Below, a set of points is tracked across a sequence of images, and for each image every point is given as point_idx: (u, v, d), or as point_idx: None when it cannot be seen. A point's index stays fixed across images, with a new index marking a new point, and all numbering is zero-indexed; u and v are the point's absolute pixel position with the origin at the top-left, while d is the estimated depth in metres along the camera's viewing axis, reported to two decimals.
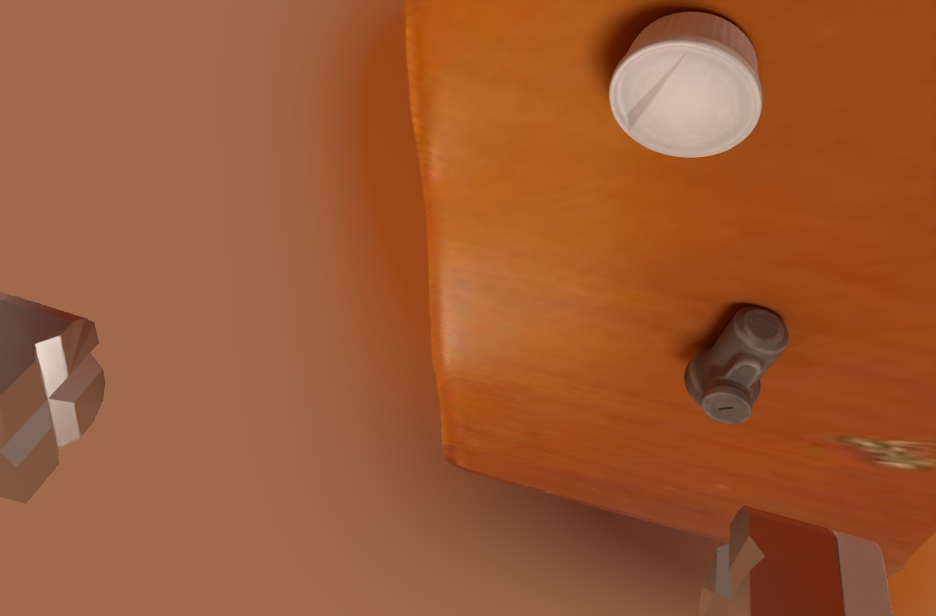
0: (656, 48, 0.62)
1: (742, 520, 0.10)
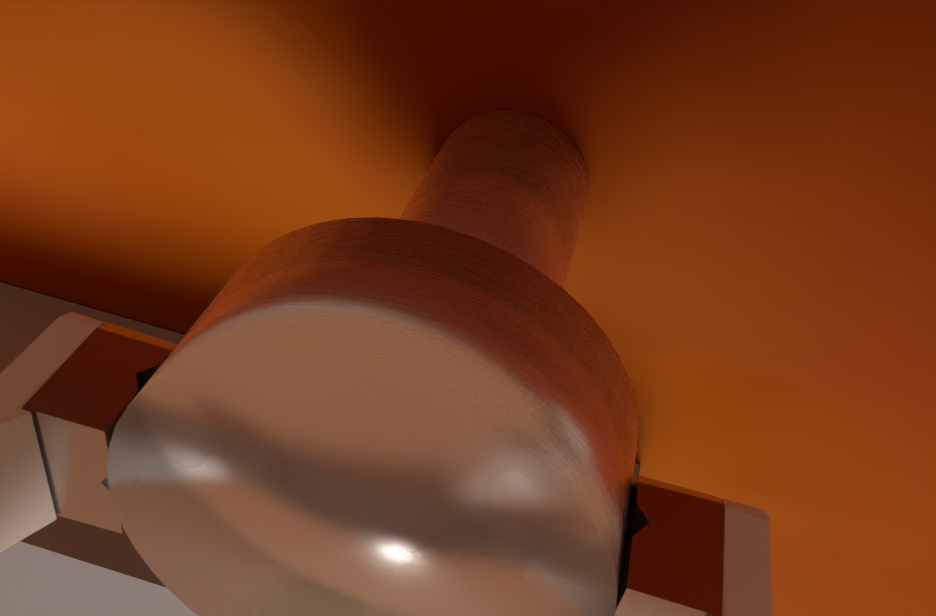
0: None
1: (634, 489, 0.10)
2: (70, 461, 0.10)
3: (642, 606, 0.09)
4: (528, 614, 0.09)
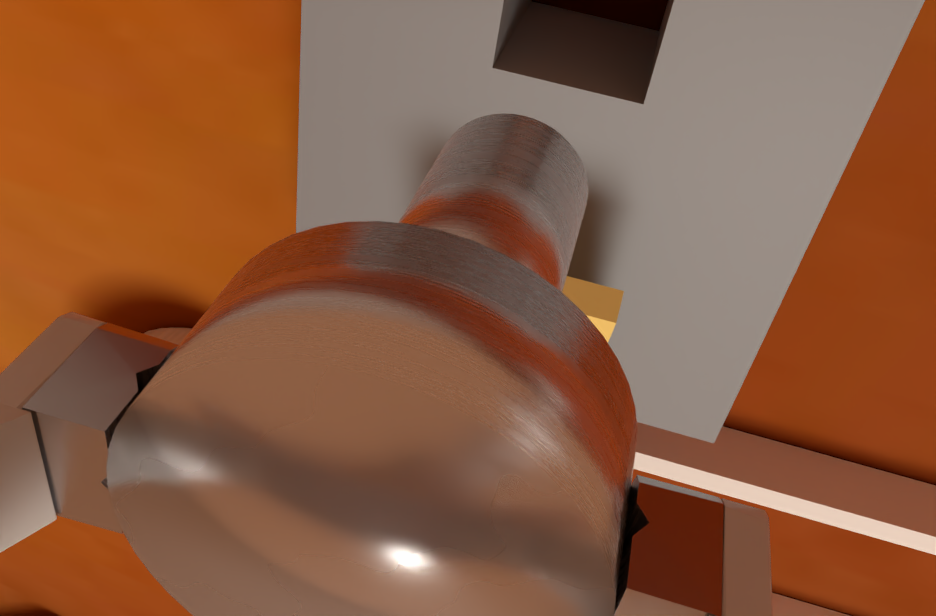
0: None
1: (634, 489, 0.10)
2: (70, 461, 0.10)
3: (642, 606, 0.09)
4: None
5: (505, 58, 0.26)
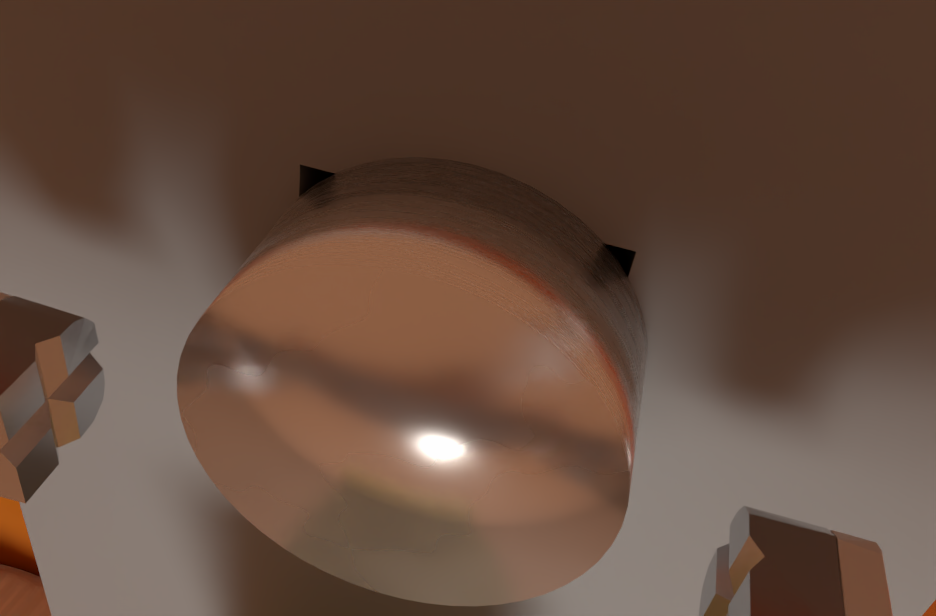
0: None
1: (742, 520, 0.10)
2: None
3: None
4: (551, 505, 0.10)
5: None
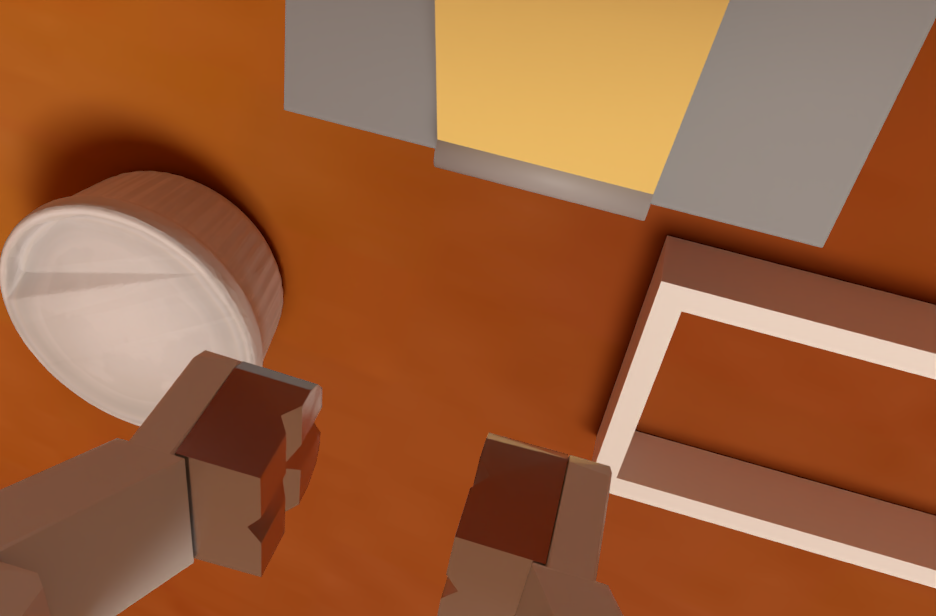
0: (145, 232, 0.32)
1: None
2: (218, 506, 0.09)
3: (472, 555, 0.09)
4: None
5: None
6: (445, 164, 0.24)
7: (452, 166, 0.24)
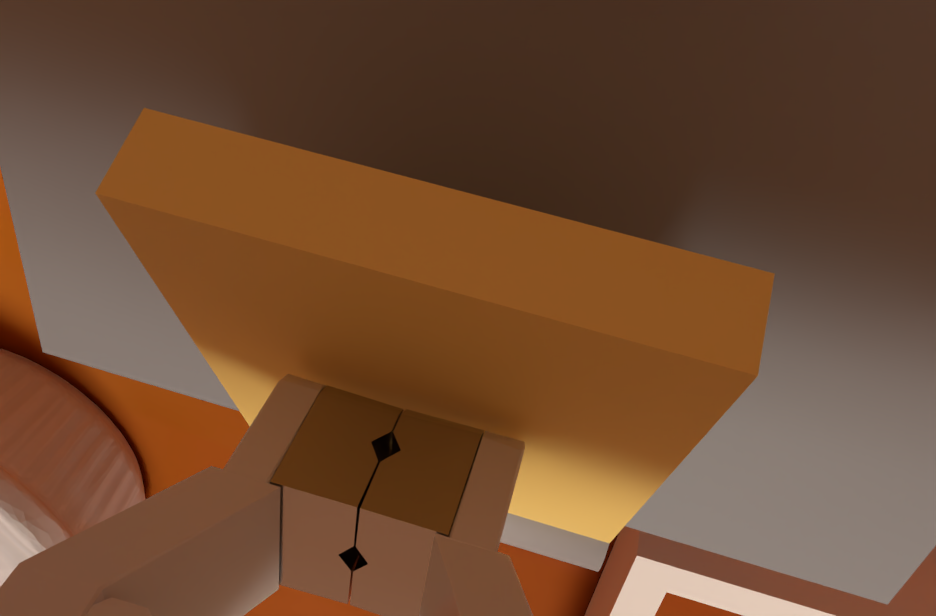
0: None
1: None
2: (309, 534, 0.09)
3: (378, 527, 0.09)
4: None
5: None
6: None
7: None
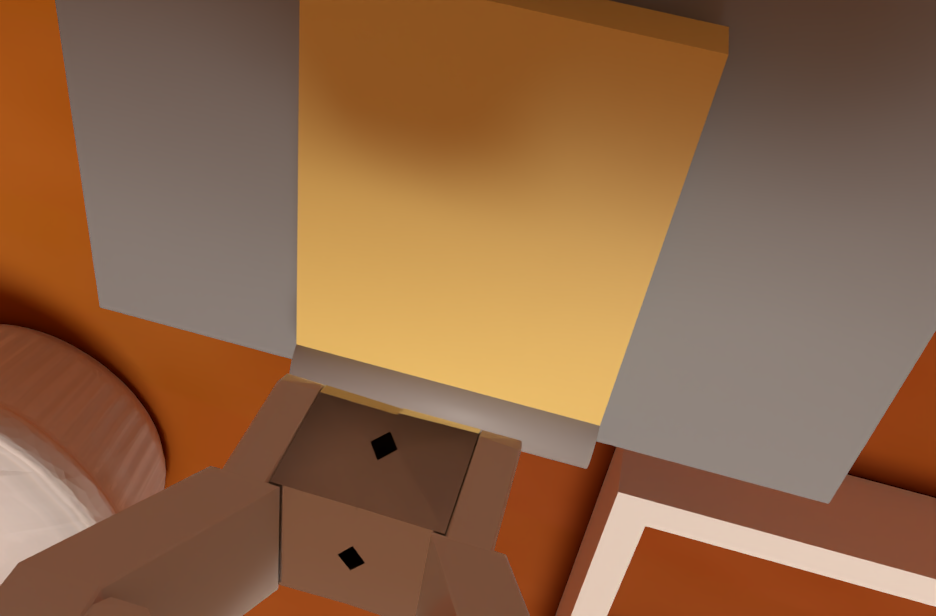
0: None
1: None
2: (309, 534, 0.09)
3: (375, 526, 0.09)
4: None
5: None
6: None
7: None
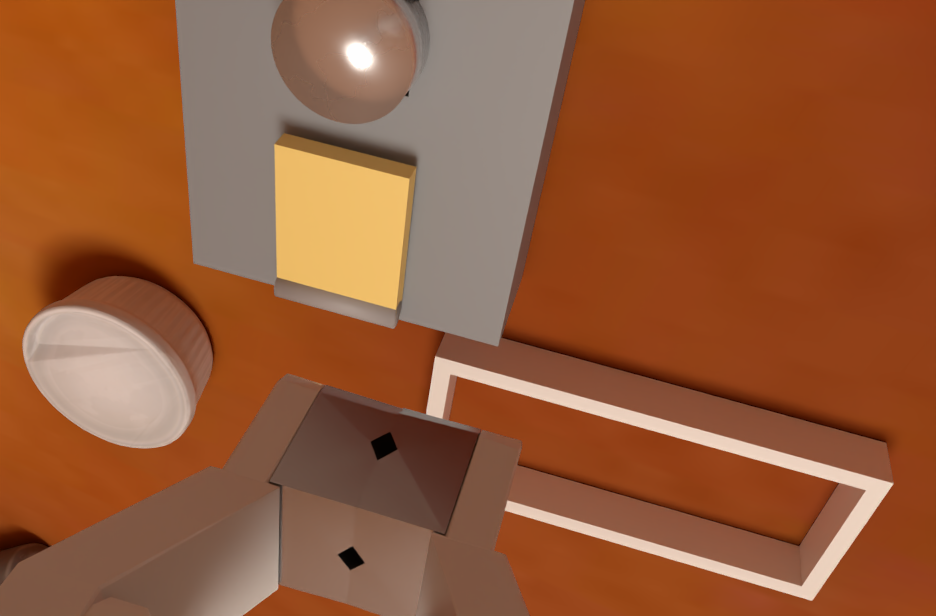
0: (116, 324, 0.50)
1: None
2: (309, 534, 0.09)
3: (375, 526, 0.09)
4: (390, 66, 0.33)
5: None
6: (280, 292, 0.42)
7: (284, 293, 0.42)
